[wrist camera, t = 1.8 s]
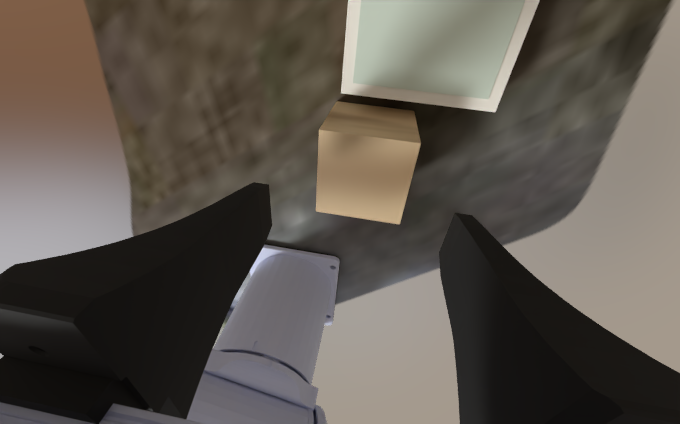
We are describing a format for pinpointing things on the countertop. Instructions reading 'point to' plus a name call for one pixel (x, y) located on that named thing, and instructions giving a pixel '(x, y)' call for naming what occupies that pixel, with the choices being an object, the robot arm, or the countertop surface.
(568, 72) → the countertop surface
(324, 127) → the oak block
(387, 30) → the tile base
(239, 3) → the countertop surface
